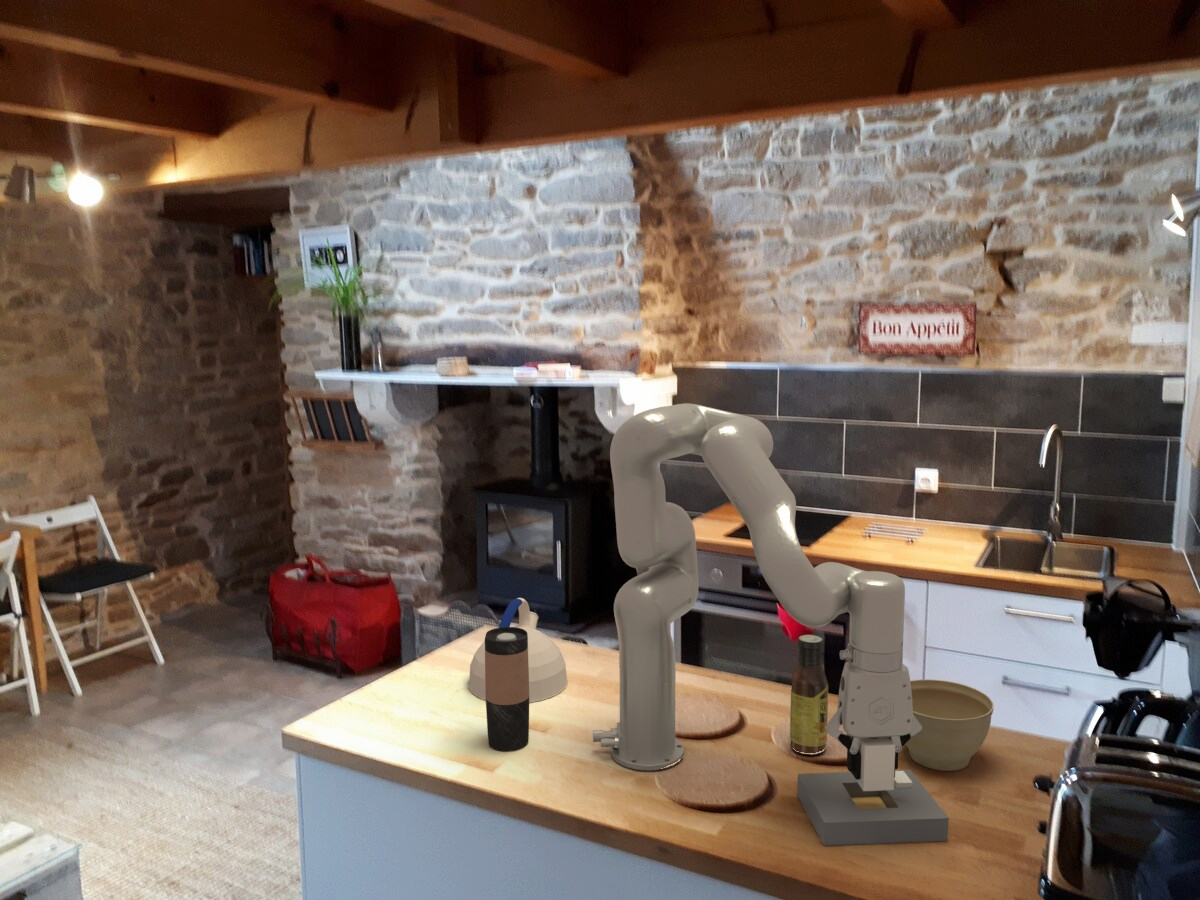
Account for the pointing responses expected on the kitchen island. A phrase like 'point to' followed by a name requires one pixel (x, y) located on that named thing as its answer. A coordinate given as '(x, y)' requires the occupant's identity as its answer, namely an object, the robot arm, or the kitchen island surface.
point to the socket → (870, 810)
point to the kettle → (542, 658)
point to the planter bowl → (948, 723)
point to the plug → (877, 764)
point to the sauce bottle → (809, 698)
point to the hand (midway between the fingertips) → (872, 773)
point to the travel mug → (507, 688)
